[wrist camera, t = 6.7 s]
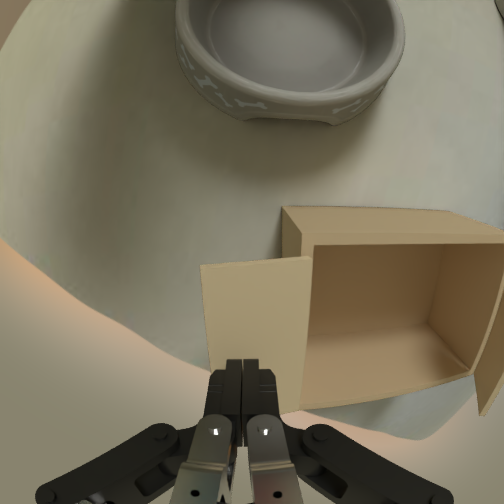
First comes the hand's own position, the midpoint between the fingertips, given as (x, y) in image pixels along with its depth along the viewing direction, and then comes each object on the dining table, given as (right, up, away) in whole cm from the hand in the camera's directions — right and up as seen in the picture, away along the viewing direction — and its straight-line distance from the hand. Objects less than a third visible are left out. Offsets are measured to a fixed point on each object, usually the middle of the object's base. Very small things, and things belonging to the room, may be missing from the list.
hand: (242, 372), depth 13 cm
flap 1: (+4, +1, +2) cm, 4 cm away
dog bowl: (+3, +24, +5) cm, 25 cm away
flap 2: (+18, +1, +2) cm, 18 cm away
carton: (+11, +4, +11) cm, 16 cm away
